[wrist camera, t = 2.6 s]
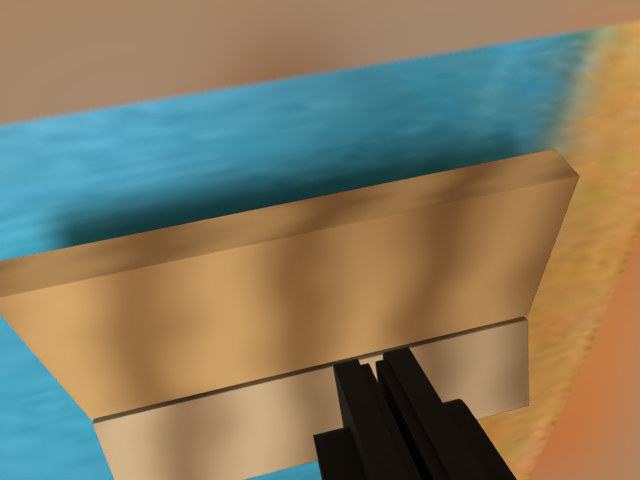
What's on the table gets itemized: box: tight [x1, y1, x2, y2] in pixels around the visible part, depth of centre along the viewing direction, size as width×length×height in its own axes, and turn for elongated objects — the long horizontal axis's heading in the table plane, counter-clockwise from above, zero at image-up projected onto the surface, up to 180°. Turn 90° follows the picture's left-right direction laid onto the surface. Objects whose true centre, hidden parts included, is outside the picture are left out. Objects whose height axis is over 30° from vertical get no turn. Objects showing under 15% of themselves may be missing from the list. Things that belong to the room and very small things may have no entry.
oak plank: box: [0, 149, 579, 419], centre depth 25 cm, size 24×10×2 cm, turn 99°
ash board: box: [93, 316, 529, 480], centre depth 30 cm, size 24×6×2 cm, turn 99°
